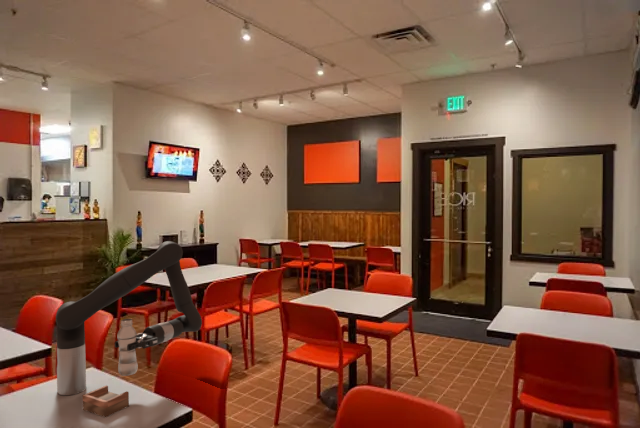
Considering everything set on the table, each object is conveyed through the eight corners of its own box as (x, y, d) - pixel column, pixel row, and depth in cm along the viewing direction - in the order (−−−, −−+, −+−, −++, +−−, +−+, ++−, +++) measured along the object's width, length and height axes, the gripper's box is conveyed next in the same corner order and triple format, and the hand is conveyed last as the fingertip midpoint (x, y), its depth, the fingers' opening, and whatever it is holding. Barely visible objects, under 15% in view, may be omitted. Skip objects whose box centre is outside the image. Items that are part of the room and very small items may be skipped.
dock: (82, 409, 150) (82, 395, 150) (106, 399, 158) (106, 385, 158) (105, 417, 145) (105, 402, 145) (128, 406, 153) (128, 391, 152)
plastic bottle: (130, 378, 156) (129, 323, 155) (113, 377, 157) (112, 322, 156) (141, 371, 162) (140, 318, 161) (125, 370, 163) (124, 317, 163)
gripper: (145, 321, 175) (108, 333, 160) (171, 326, 168) (134, 338, 154) (146, 340, 175) (108, 353, 161) (172, 346, 169) (135, 360, 154)
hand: (121, 346), depth 157 cm, fingers closed on plastic bottle, 6 cm apart
